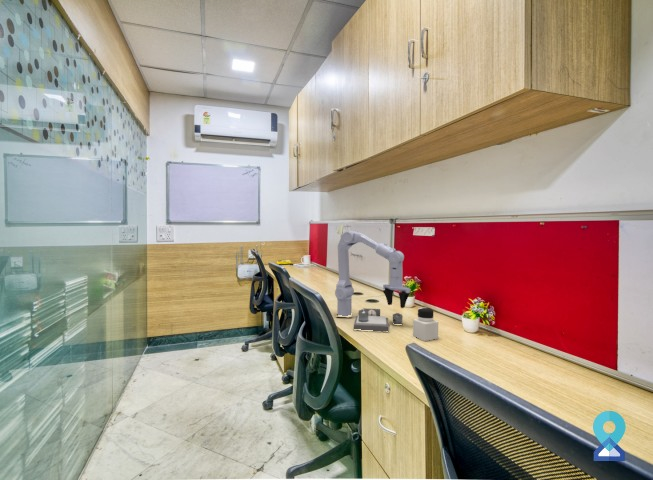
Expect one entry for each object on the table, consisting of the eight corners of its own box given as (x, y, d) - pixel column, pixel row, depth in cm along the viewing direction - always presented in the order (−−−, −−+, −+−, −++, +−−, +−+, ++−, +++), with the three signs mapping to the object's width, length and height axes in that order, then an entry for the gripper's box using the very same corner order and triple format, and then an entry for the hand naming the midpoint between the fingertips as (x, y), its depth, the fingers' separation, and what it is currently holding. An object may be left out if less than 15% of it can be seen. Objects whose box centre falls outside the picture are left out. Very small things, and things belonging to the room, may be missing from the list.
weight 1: (360, 319, 144) (360, 308, 144) (369, 320, 142) (369, 309, 142) (357, 321, 140) (357, 310, 140) (366, 322, 138) (366, 311, 138)
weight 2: (392, 322, 150) (392, 312, 150) (401, 323, 149) (401, 312, 149) (392, 325, 145) (392, 314, 145) (402, 325, 145) (402, 315, 145)
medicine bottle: (438, 339, 126) (438, 309, 126) (424, 341, 123) (425, 311, 123) (425, 334, 133) (426, 305, 132) (412, 336, 130) (412, 307, 129)
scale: (356, 320, 154) (356, 308, 154) (387, 321, 151) (387, 309, 151) (353, 330, 137) (353, 317, 137) (388, 332, 135) (388, 318, 135)
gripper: (378, 276, 150) (378, 304, 150) (403, 279, 138) (402, 310, 139) (388, 275, 154) (388, 302, 154) (413, 278, 143) (413, 308, 143)
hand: (396, 306), depth 147 cm, fingers open, 7 cm apart
